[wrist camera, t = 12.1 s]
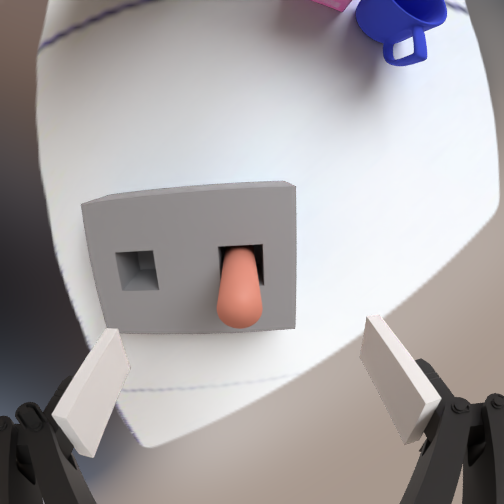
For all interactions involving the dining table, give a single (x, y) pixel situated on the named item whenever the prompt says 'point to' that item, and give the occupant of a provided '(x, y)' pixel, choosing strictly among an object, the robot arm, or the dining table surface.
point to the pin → (239, 288)
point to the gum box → (335, 4)
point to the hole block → (190, 254)
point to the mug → (400, 24)
